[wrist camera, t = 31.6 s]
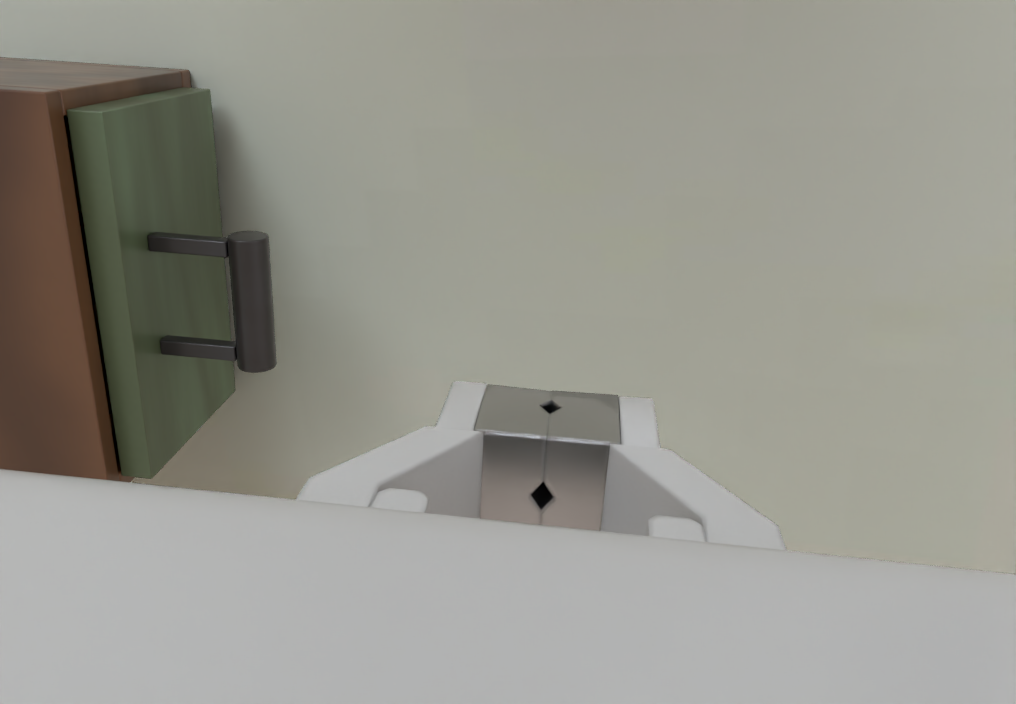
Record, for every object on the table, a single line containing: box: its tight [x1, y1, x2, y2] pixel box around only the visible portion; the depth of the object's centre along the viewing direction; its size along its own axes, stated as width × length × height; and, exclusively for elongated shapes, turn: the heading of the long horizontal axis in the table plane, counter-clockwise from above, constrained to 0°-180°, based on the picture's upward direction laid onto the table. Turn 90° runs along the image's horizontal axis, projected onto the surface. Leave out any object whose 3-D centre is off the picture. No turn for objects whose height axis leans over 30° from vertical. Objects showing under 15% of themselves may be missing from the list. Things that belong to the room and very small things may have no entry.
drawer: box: [63, 87, 277, 479], centre depth 32 cm, size 19×13×8 cm
